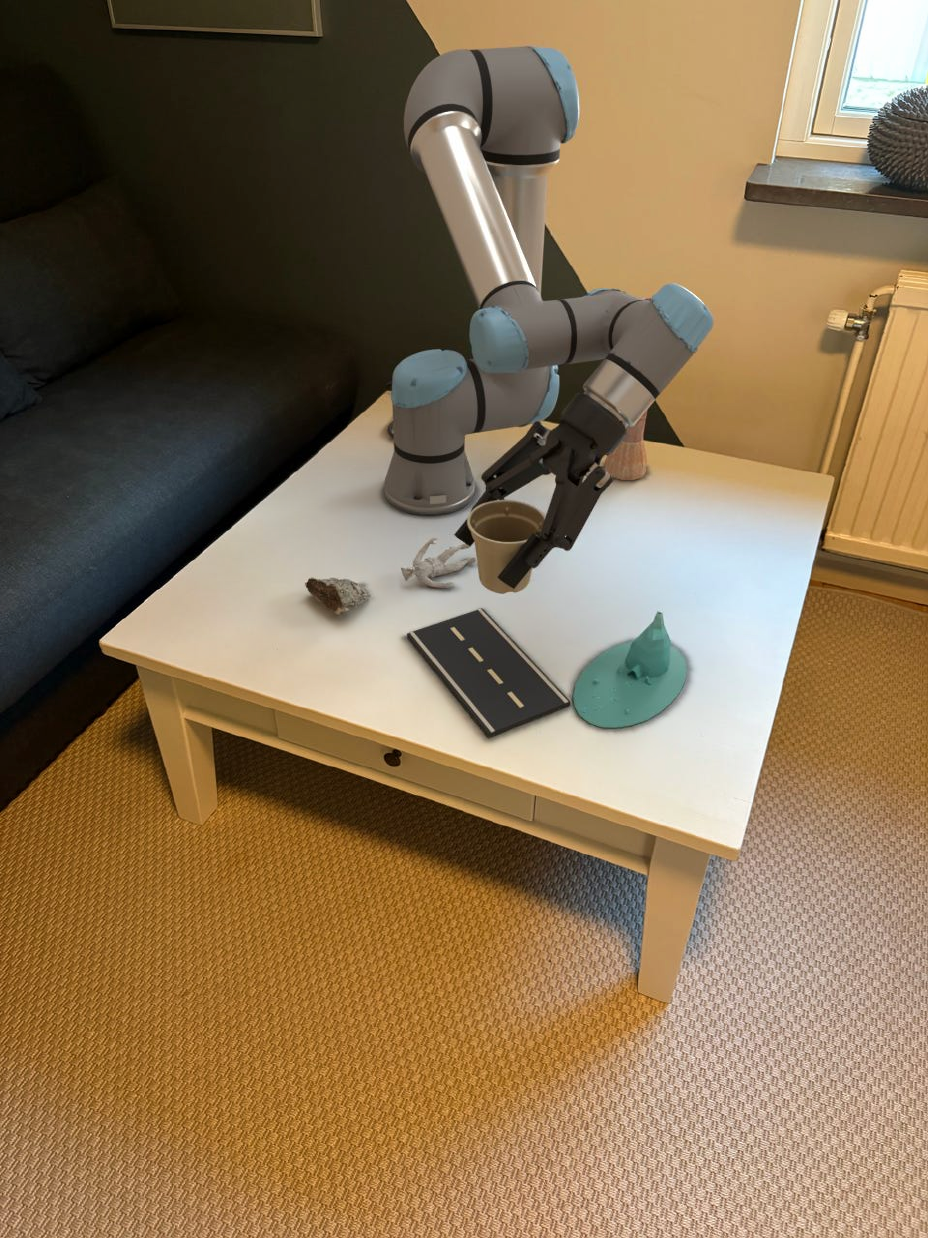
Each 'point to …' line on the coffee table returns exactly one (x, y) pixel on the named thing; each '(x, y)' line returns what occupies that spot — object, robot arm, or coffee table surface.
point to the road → (487, 672)
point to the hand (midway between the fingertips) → (483, 561)
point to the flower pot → (502, 538)
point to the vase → (629, 452)
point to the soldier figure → (435, 565)
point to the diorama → (631, 680)
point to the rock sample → (337, 593)
